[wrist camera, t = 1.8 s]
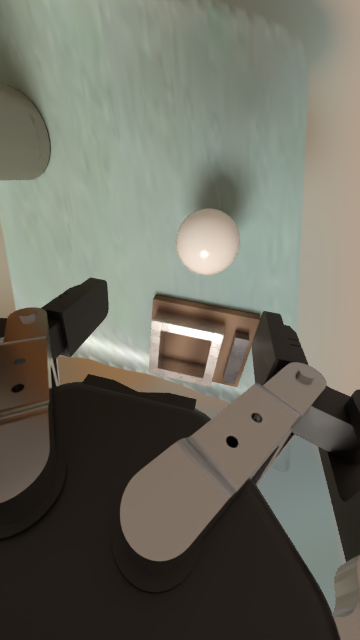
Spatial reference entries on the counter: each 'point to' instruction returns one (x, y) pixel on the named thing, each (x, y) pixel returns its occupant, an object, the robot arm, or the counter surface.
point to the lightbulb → (207, 241)
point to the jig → (200, 341)
